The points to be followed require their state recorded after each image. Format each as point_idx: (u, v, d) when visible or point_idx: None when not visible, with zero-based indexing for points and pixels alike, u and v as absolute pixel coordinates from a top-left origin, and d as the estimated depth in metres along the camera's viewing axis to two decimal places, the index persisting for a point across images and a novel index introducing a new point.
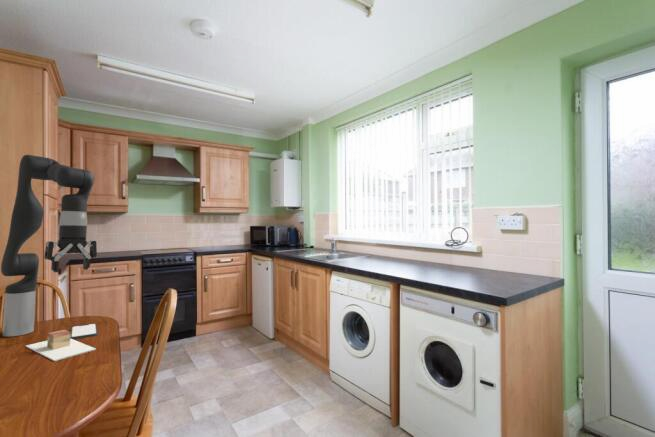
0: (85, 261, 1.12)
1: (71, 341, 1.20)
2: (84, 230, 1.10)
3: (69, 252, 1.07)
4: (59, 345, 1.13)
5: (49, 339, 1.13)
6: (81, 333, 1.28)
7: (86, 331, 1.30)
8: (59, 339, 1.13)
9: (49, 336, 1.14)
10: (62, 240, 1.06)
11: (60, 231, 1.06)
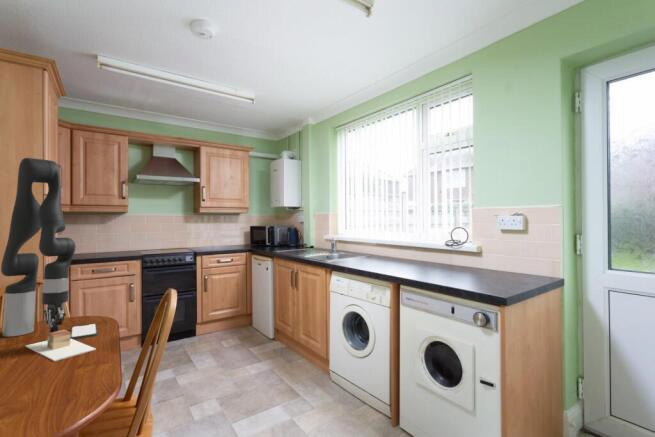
0: None
1: (71, 341, 1.20)
2: None
3: None
4: (59, 345, 1.13)
5: (49, 339, 1.13)
6: (81, 333, 1.28)
7: (86, 331, 1.30)
8: (59, 339, 1.13)
9: (49, 336, 1.14)
10: None
11: (60, 297, 1.16)
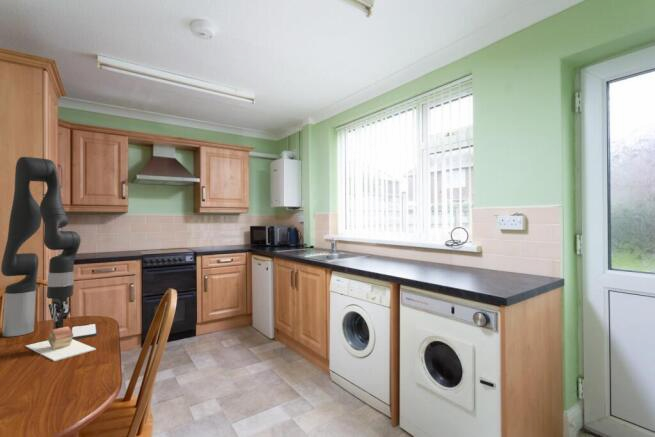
0: None
1: (71, 341, 1.20)
2: None
3: None
4: (60, 345, 1.13)
5: (51, 336, 1.13)
6: (81, 333, 1.28)
7: (86, 331, 1.30)
8: (61, 341, 1.12)
9: (52, 333, 1.13)
10: None
11: (66, 291, 1.15)
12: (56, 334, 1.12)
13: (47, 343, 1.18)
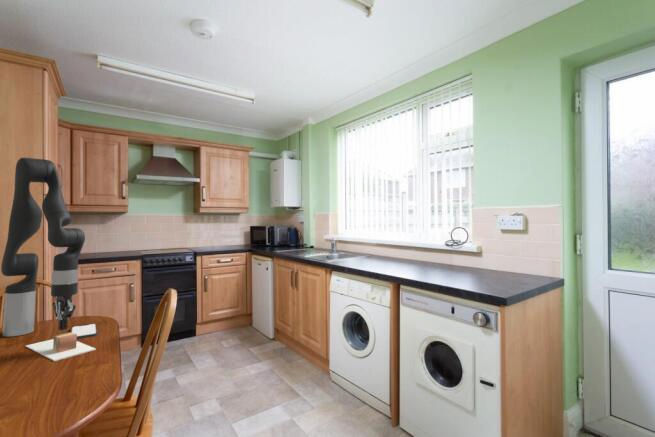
0: None
1: None
2: None
3: None
4: None
5: (57, 341, 1.10)
6: (81, 333, 1.28)
7: (86, 331, 1.30)
8: None
9: (58, 340, 1.10)
10: (71, 297, 1.14)
11: (70, 289, 1.13)
12: (61, 346, 1.10)
13: (47, 343, 1.18)
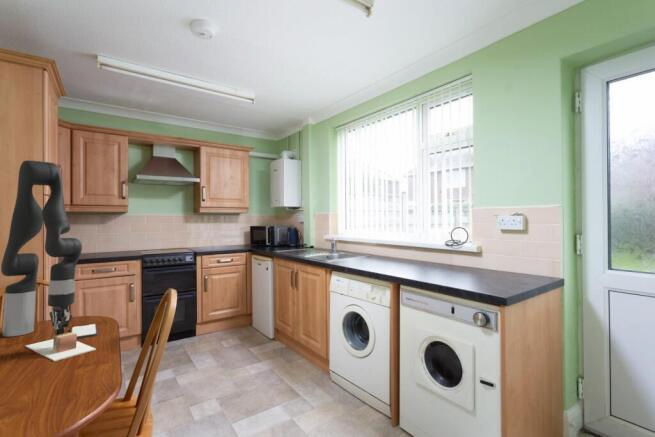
0: None
1: None
2: None
3: None
4: None
5: (57, 341, 1.10)
6: (81, 333, 1.28)
7: (86, 331, 1.30)
8: None
9: (58, 340, 1.10)
10: (68, 307, 1.14)
11: (67, 299, 1.14)
12: (61, 346, 1.10)
13: (47, 343, 1.18)
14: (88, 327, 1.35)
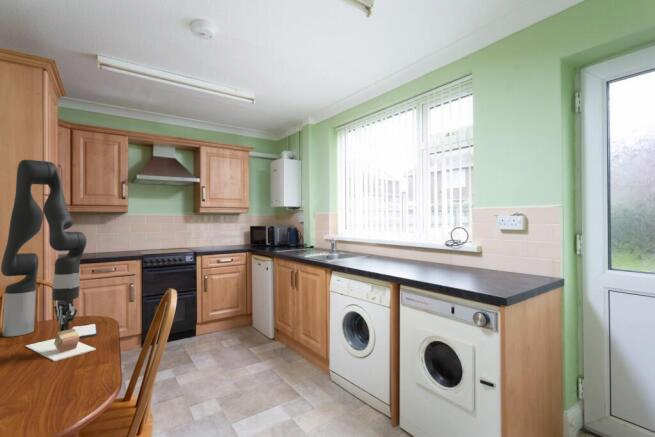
0: None
1: None
2: None
3: None
4: None
5: (59, 341, 1.09)
6: (81, 333, 1.27)
7: (86, 331, 1.30)
8: None
9: (61, 341, 1.09)
10: None
11: (71, 293, 1.13)
12: (62, 347, 1.09)
13: (47, 343, 1.18)
14: (88, 327, 1.35)
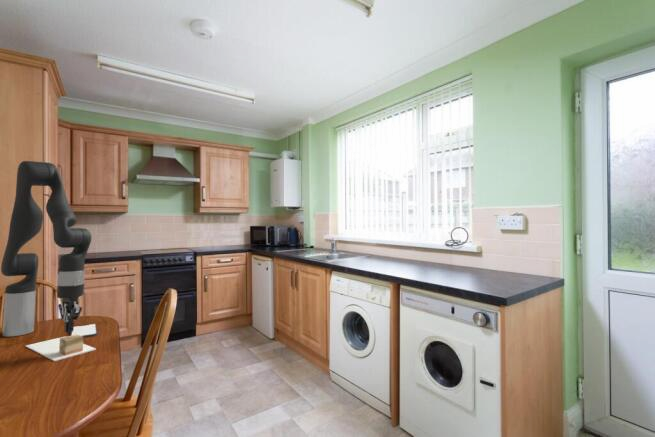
0: None
1: None
2: None
3: None
4: None
5: (63, 348, 1.07)
6: (81, 333, 1.27)
7: (86, 331, 1.30)
8: None
9: (64, 352, 1.07)
10: None
11: (76, 290, 1.11)
12: None
13: (47, 343, 1.18)
14: (88, 327, 1.35)
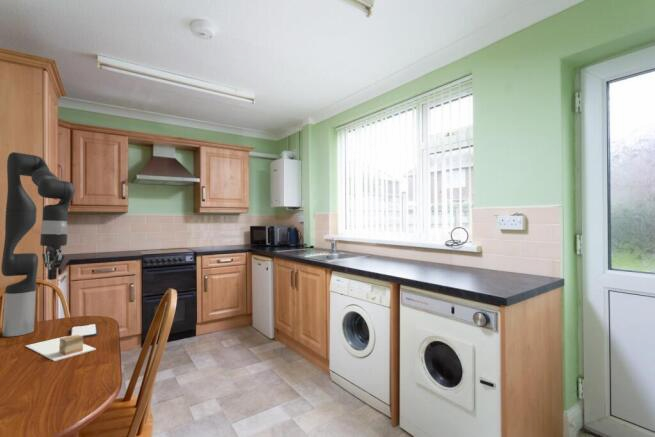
0: None
1: None
2: None
3: None
4: None
5: (63, 348, 1.07)
6: (81, 333, 1.27)
7: (86, 331, 1.30)
8: None
9: (64, 352, 1.07)
10: (60, 247, 1.16)
11: (59, 239, 1.15)
12: None
13: (47, 343, 1.18)
14: (88, 327, 1.35)
